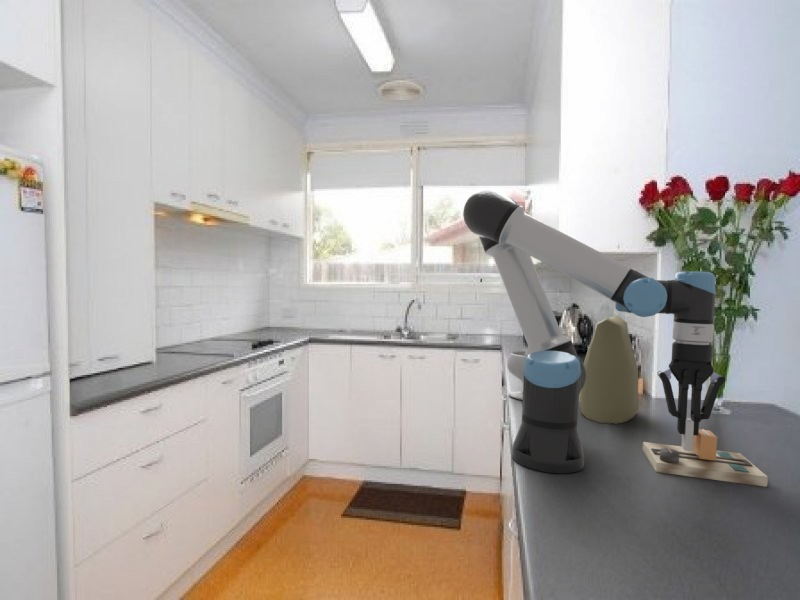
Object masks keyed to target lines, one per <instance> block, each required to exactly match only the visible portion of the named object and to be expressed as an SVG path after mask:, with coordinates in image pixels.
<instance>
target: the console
mask: <svg viewBox="0 0 800 600" xmlns="http://www.w3.org/2000/svg"><path fill="white" fill-rule="evenodd" d="M681 446H682V445H671V444H663V443H655V442H647V441H643V442H642V451H643V453H644V455H645V456H646V458H647V460H648V461H649V463H650V465H651V466H652V468H653V470H654V472H655V473H661V474H669V475H678V476H684V477H691V478H698V479H700V478H701V479H707V480H714V481H721V482H730V483H737V484H744V485H752V486H758V487H759V486H760V487H766V488H767V487H768V478H769V476H768V475H766V474H765V473H764V472H763V471H761V470H760V469H759V468H758V467H757V466H755V464H754V463H752V462H751V461H750V460H748V459H747V458H746V457H745V456H744V455H743V454H742V453H741V452H733V451H723V450H716V460H707V459H700V458H699V457H698V456H697V455H696V454H695V453H694V452H693V451H685V450H684V449H683V448H682V447H681Z"/></svg>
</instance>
